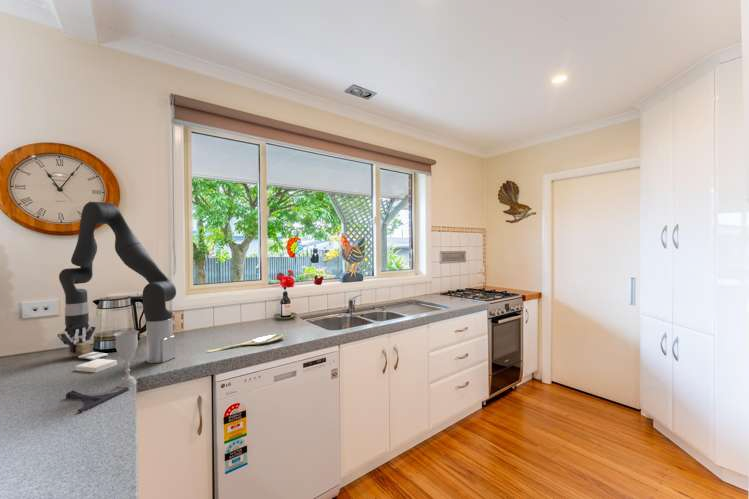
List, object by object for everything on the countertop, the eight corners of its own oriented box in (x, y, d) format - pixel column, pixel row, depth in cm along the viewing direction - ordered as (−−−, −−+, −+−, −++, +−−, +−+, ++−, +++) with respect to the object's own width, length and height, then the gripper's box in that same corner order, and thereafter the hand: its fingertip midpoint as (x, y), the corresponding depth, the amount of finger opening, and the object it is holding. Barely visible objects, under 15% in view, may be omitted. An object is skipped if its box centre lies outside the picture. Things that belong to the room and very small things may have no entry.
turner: (107, 354, 137) (108, 343, 137) (93, 359, 131) (93, 347, 131) (79, 351, 140) (80, 340, 140) (64, 355, 134) (64, 344, 134)
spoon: (207, 359, 136) (207, 355, 136) (205, 352, 145) (205, 348, 145) (286, 340, 155) (286, 336, 155) (280, 335, 164) (280, 331, 164)
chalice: (145, 381, 110) (143, 331, 110) (124, 389, 104) (123, 336, 104) (131, 378, 113) (129, 329, 112) (109, 386, 106) (108, 334, 106)
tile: (98, 363, 129) (117, 365, 127) (75, 371, 121) (95, 373, 119) (98, 358, 129) (117, 360, 127) (75, 365, 121) (95, 367, 119)
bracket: (92, 389, 106) (91, 381, 106) (129, 392, 104) (128, 383, 104) (40, 411, 92) (40, 402, 92) (81, 415, 89) (81, 406, 89)
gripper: (64, 316, 129) (65, 358, 129) (100, 310, 142) (101, 347, 142) (51, 316, 130) (52, 357, 131) (87, 309, 144) (88, 346, 144)
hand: (77, 351), depth 137 cm, fingers closed on turner
